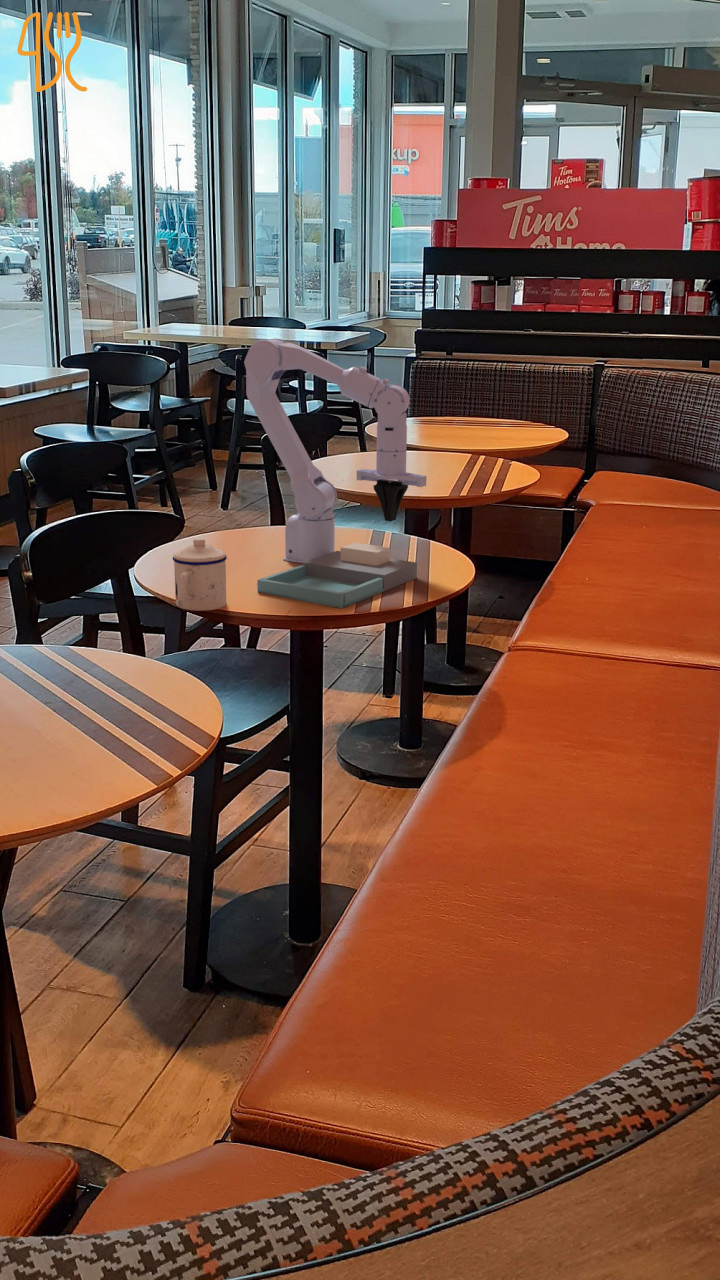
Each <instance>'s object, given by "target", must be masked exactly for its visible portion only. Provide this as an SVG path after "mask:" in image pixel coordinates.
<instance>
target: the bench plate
mask: <svg viewBox="0 0 720 1280" xmlns="http://www.w3.org/2000/svg"><path fill="white" fill-rule="evenodd" d="M301 564H302V566H305V576H311V577H317V578H323V579H329V580H335V581H341V582H347V583H353V584H359V585H360V584H363V583H366V582H368V581H371V580H373V579H376V578H383V589H384V592H386V591H388V590H391V589H394V588H396V587H398V586H400V585H403V584H405V583H408V582H410V581H414V580H416V579H417V578H418V562H417V561H415V562H414V561H408V560H403V559H396V558H390V561H388V562H385V563H383V564H380V565H377V566H375V565H369V564H362V563H356V562H349V561H343V560H341V550H334V552H332V553H329V554H326V555H323V556H320V557H317V558H314V559H311V560H308V561H305V562H302V563H301Z"/></svg>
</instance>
